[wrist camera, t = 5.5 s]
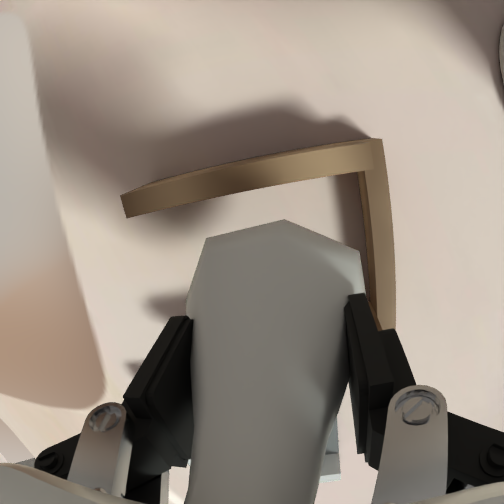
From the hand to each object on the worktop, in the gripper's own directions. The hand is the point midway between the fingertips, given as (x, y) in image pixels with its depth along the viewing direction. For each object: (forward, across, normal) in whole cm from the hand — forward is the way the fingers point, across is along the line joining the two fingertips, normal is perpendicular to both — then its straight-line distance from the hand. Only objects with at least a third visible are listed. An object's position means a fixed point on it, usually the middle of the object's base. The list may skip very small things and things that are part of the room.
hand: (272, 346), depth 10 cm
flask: (+3, 0, 0) cm, 3 cm away
